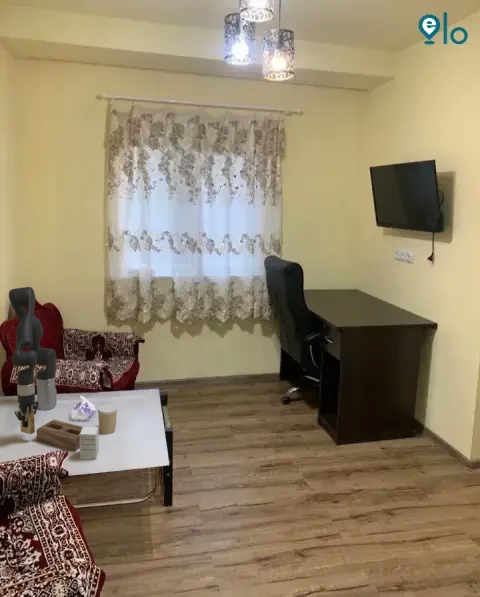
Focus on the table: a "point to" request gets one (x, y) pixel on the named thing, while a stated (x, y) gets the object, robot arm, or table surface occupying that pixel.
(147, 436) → the table surface
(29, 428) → the yellow tan block
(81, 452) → the miniature drawer cabinet
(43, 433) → the two-slot wooden tray
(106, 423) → the coffee cup
